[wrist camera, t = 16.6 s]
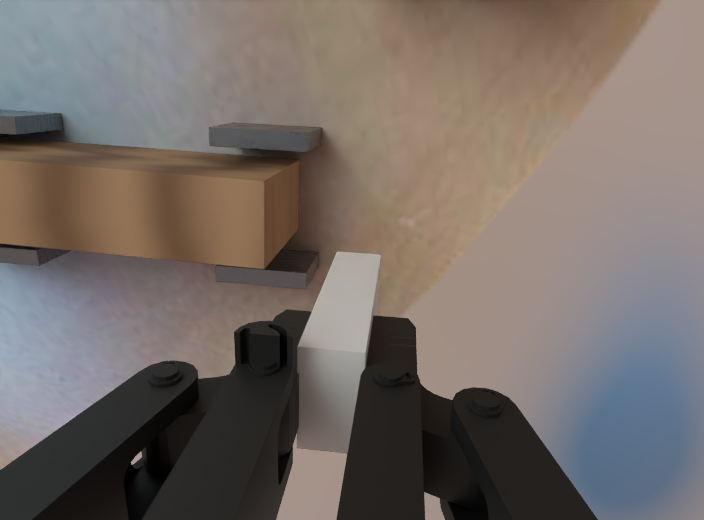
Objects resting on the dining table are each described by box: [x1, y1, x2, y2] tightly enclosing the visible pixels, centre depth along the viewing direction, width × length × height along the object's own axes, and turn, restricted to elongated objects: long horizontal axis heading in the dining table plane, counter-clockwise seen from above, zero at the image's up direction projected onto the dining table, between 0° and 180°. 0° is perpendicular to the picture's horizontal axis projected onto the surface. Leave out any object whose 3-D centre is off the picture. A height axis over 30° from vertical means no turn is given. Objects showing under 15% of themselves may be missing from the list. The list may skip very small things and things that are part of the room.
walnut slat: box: [0, 137, 300, 269], centre depth 30 cm, size 22×4×8 cm, turn 87°
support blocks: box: [209, 123, 322, 289], centre depth 30 cm, size 6×9×4 cm, turn 177°
